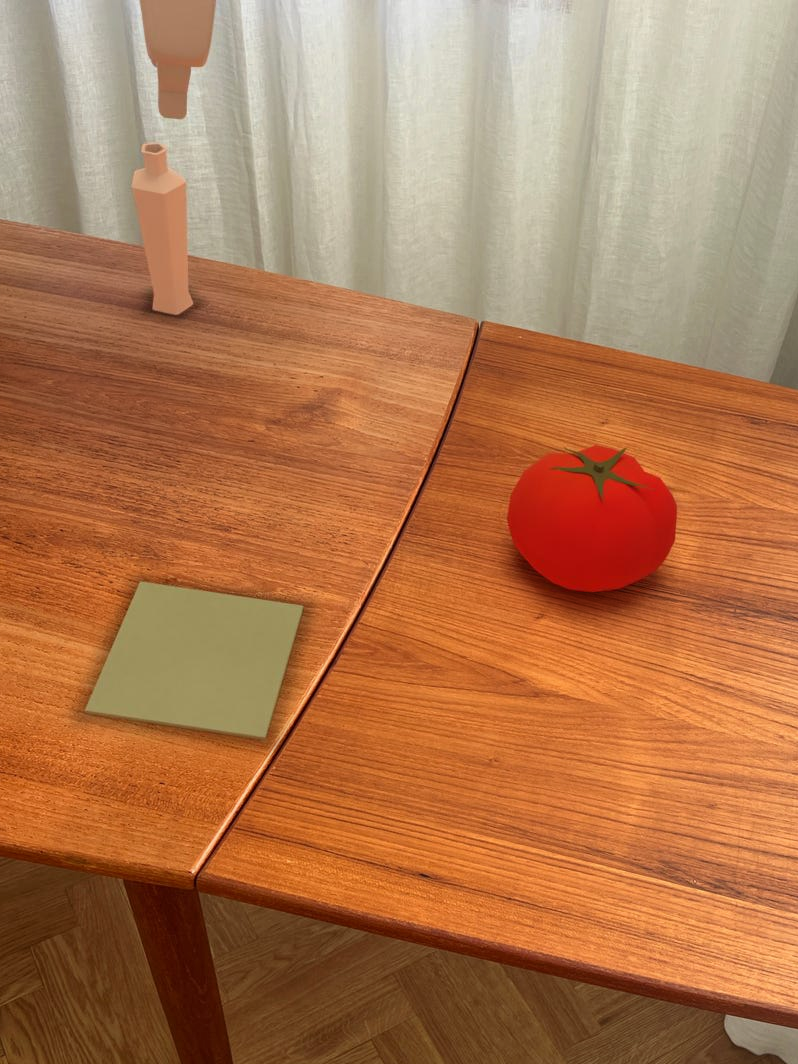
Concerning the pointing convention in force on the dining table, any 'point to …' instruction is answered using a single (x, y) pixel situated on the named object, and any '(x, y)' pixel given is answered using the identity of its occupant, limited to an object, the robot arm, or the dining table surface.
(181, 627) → the front mat
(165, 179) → the perfume bottle
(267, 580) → the dining table surface
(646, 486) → the tomato
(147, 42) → the robot arm
